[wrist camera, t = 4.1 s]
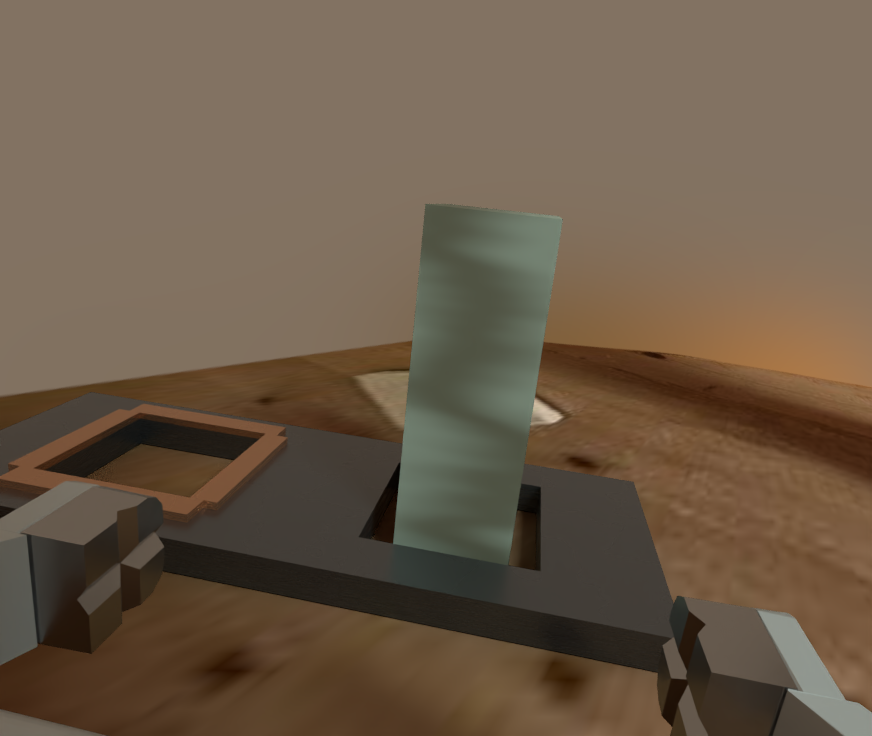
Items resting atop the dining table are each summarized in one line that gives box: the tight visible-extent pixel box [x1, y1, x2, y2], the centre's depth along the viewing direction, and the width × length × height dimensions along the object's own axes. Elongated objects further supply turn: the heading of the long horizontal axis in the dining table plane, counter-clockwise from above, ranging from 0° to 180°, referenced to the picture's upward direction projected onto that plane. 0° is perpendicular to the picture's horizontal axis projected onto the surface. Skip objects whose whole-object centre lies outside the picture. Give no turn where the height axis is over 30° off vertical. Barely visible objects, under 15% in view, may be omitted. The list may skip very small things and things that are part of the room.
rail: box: [0, 392, 674, 672], centre depth 23 cm, size 26×10×2 cm, turn 80°
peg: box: [393, 204, 563, 565], centre depth 21 cm, size 4×4×12 cm
